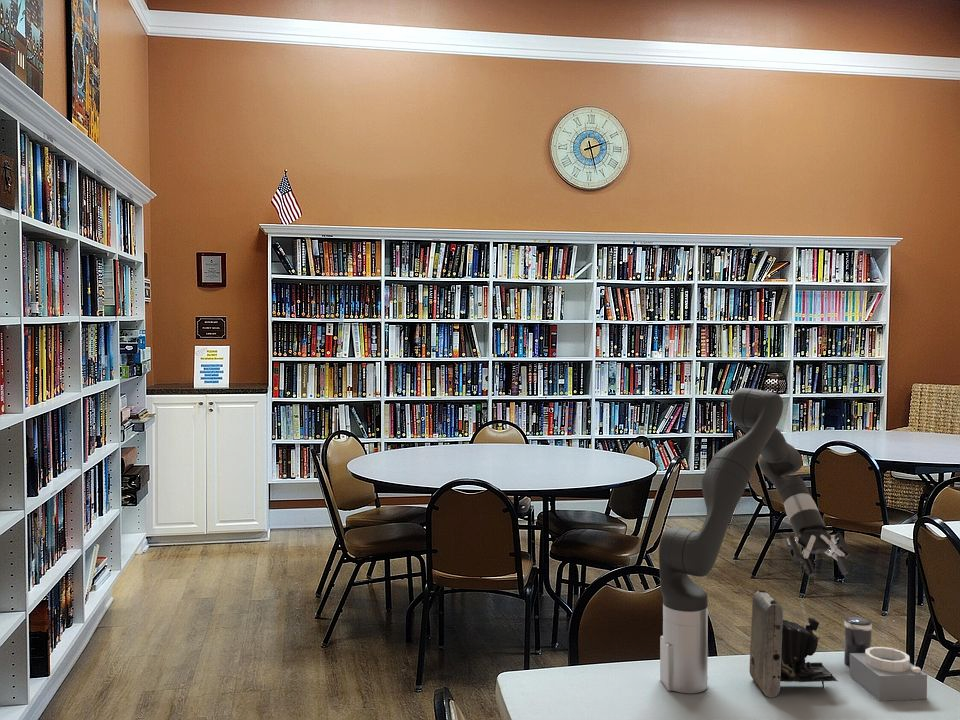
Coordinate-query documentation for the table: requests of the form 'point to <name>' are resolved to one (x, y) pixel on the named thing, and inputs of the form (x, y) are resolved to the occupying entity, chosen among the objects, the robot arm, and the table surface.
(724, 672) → the table surface
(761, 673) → the vintage camera
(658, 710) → the table surface
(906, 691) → the grey base with ring
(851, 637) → the lens
